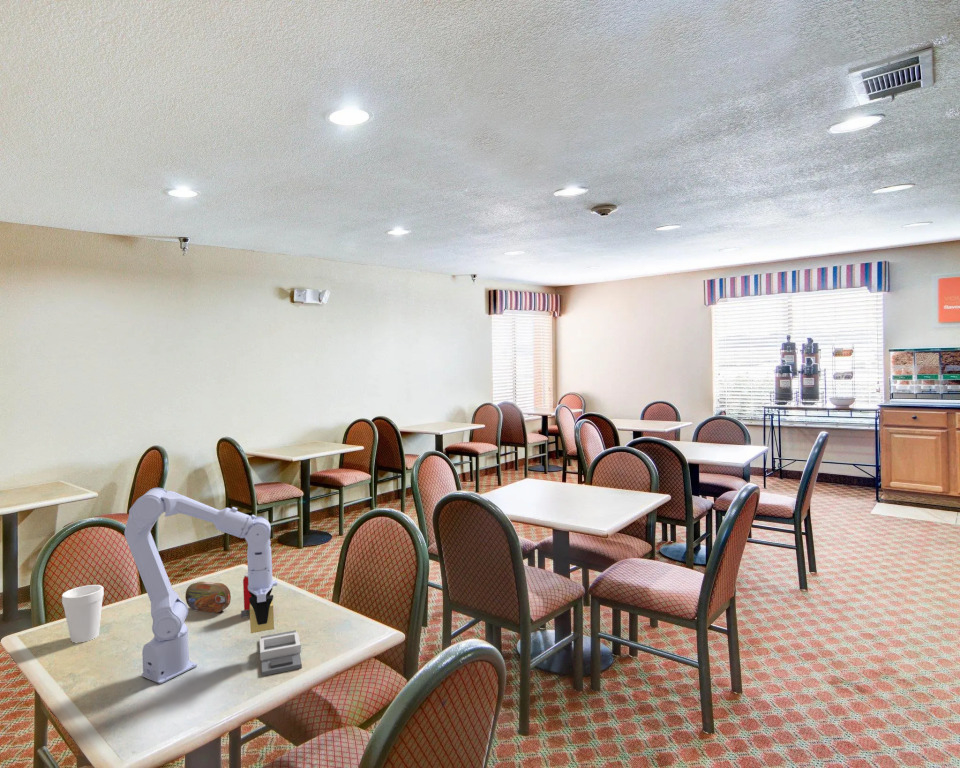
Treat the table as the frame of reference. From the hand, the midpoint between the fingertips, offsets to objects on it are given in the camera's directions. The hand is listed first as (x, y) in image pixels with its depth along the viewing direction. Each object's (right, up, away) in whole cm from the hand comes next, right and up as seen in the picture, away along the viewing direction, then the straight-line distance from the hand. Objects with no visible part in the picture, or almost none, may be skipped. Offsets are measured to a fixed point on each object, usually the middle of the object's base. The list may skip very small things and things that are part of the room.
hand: (262, 620), depth 147 cm
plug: (0, -2, 0) cm, 2 cm away
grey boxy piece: (+4, -9, +1) cm, 10 cm away
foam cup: (-54, -10, +13) cm, 56 cm away
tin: (-27, -9, +30) cm, 42 cm away
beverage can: (-12, -9, +27) cm, 31 cm away
